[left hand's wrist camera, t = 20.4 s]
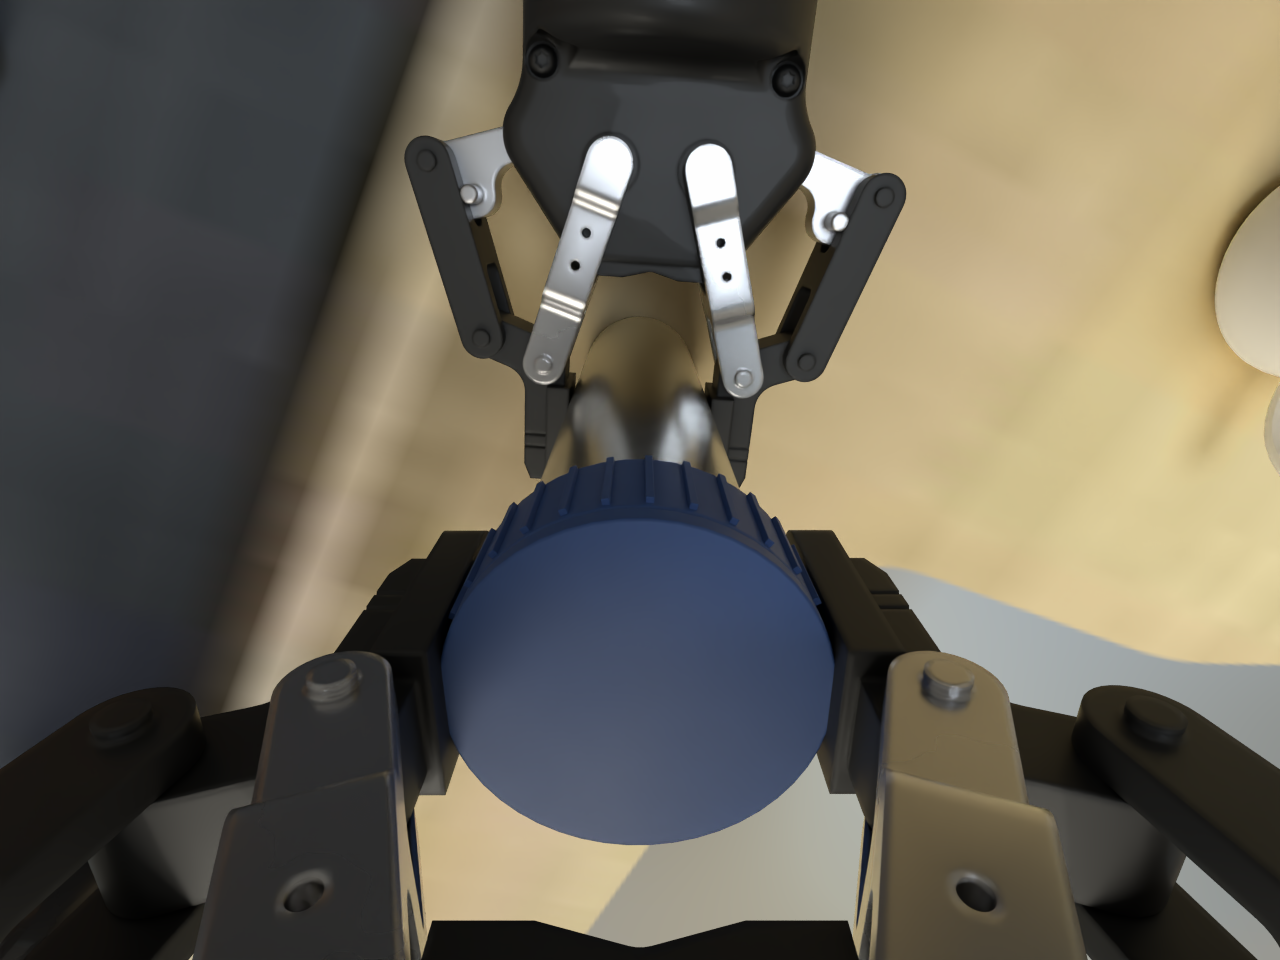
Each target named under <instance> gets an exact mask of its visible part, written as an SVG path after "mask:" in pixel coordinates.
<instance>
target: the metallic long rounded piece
mask: <svg viewBox="0 0 1280 960" xmlns="http://www.w3.org/2000/svg"><path fill="white" fill-rule="evenodd" d="M645 455H649V456H653V460H659V461H667V462H674V463H678V464H682V463H683V461H687V462H690V464H691V467H694V468H696V469H699V470H702V471H704V472H707V473H709V474H712V475H715V476H716V477H717V475H718V474H719V473H720V474H722V475H724V476H725V477H726V480H727V482H728V483H729V484H731V485H733V486H735V487H736V488H738V489H739V486H738V484H737V481H736V478H735V476H734V473H733V470H732V467H731V465H730V462H729V459H728V456H727V454H726V451H725V448H724V446H723V443H722V440H721V437H720V435H719V432H718V429H717V426H716V424H715V421H714V418H713V416H712V413H711V410H710V407H709V405H708V402H707V399H706V396H705V394H704V391H703V388H702V386H701V383H700V380H699V377H698V375H697V372H696V369H695V366H694V364H693V361H692V358H691V356H690V353H689V350H688V348H687V346H686V344H685V342H684V341H683V339H682V338H681V336H680V335H679V334H678V333H677V332H676V331H675V330H674V329H673V328H671V327H670V326H668V325H667V324H665V323H663V322H661V321H659V320H656V319H653V318H649V317H630V318H625V319H622V320H619V321H617V322H615V323H613V324H611V325H610V326H608V327H607V328H606V329H604V330H603V331H602V332H601V333H600V334H599V335H598V337H597V338H596V339H595V341H594V342H593V344H592V346H591V348H590V351H589V353H588V356H587V359H586V361H585V364H584V366H583V369H582V372H581V374H580V377H579V380H578V382H577V385H576V388H575V390H574V393H573V396H572V398H571V401H570V404H569V406H568V409H567V412H566V414H565V417H564V420H563V422H562V425H561V428H560V430H559V433H558V436H557V438H556V441H555V443H554V446H553V449H552V451H551V454H550V457H549V459H548V462H547V465H546V467H545V470H544V473H543V475H542V478H541V481H543V482H544V483H545V484H547V483H548V482H550V481H552V480H554V479H556V478H557V477H559V476H562V475H564V474H567V473H568V472H569V469H570V467H573V466H575V465H576V466H577V468H578V469H579V468H583V467H586V466H590V465H594V464H598V463H602V462H606V458H608V457H614V461H617V460H624V459H645ZM541 481H540V482H541ZM739 490H740V489H739Z"/></svg>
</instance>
